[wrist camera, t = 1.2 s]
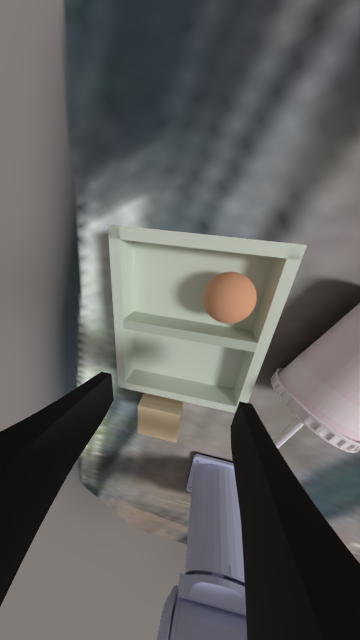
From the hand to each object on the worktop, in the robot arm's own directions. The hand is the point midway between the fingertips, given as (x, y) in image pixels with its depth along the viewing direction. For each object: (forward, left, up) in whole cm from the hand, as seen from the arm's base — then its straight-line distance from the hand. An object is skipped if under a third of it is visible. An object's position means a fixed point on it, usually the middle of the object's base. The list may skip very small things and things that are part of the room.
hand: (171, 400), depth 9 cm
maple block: (-8, +1, -8) cm, 11 cm away
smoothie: (+7, -13, -5) cm, 16 cm away
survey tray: (+2, 0, -8) cm, 8 cm away
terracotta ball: (+5, -3, -7) cm, 9 cm away
